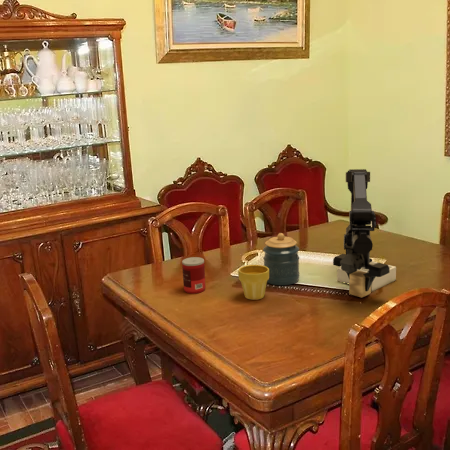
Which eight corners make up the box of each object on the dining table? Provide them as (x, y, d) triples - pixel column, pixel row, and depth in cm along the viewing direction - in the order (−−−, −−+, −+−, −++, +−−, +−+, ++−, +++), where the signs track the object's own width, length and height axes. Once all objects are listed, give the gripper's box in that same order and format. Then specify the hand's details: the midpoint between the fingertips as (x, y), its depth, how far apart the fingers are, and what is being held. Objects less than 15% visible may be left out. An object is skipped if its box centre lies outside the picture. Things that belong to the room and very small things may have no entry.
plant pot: (253, 288, 207) (252, 262, 204) (275, 295, 200) (275, 268, 197) (233, 297, 200) (231, 269, 197) (255, 304, 193) (254, 276, 190)
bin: (337, 281, 210) (337, 268, 209) (361, 271, 219) (361, 258, 218) (371, 291, 199) (372, 277, 198) (395, 280, 209) (396, 266, 207)
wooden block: (349, 293, 196) (349, 274, 194) (358, 289, 199) (358, 270, 198) (361, 297, 193) (362, 277, 191) (370, 293, 196) (371, 273, 194)
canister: (306, 278, 214) (306, 232, 210) (285, 288, 205) (284, 240, 201) (278, 271, 223) (277, 226, 218) (256, 280, 214) (255, 234, 209)
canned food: (208, 286, 210) (207, 257, 207) (200, 294, 203) (199, 264, 200) (189, 285, 213) (187, 256, 210) (180, 293, 205) (178, 263, 203)
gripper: (322, 244, 193) (322, 289, 197) (370, 256, 180) (369, 303, 184) (343, 237, 200) (342, 280, 204) (391, 248, 187) (389, 293, 191)
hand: (360, 289), depth 196 cm, fingers closed on wooden block, 5 cm apart
